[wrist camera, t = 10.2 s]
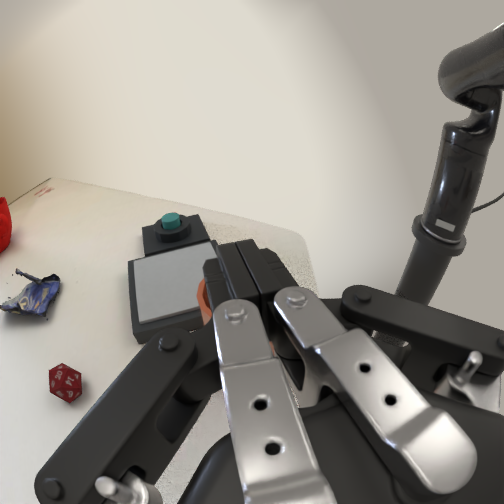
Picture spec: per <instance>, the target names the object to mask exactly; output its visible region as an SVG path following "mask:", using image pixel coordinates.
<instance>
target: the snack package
mask: <svg viewBox="0 0 504 504" xmlns="http://www.w3.org/2000/svg"><path fill="white" fill-rule="evenodd" d="M16 274H20V275H21V276H22V275H23V276H24V277H26V278H27V279H29V280H31V281H32V283H30V284H28V285H27V286H26V287H25V288H24V289H23V290H22V292H21V293H20V294H19V295H18V296H17V297H15V298H14V299H12V300H9V301H7V302H5V303H3V305H2V306H1V305H0V309H2V310H3V311H8V312H10V313H11V312H12V313H17V314H21V315H27V314H36V315H41V316H44V317H46V313H47V309H48V305H49V302H50V300H54V301H55V297H56V295H57V293H59V292H58V291H59V285H60V278H59V277H58V276H57V275H56V274H52V275H51V276H48V277H44V278H43V279H39V278H35V277H33V276H32V275H29V274H27V273H23V272H21V271H20V270H19V269H16ZM12 276H13V274H12ZM7 284H8V283H7ZM8 298H10V297H8ZM53 303H54V302H53ZM47 320H48V318H47Z"/></svg>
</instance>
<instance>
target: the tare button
mask: <svg viewBox="0 0 504 504" xmlns="http://www.w3.org/2000/svg"><path fill="white" fill-rule="evenodd" d="M161 220H162V224H163V228H164V229H166V230H172V229H176V228H177V227H179V226H180V224H181V223H180V218H179V214H177V213H168V214H165V215H164V216H163V217H162V219H161Z"/></svg>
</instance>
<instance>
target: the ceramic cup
mask: <svg viewBox="0 0 504 504" xmlns="http://www.w3.org/2000/svg"><path fill="white" fill-rule="evenodd" d="M11 231H12V222H11V216H10V212H9V208H8V205H7V202H6V199H5V197H1V198H0V253H1V252H2V251H3V250H4V249H6V247H7V246H8V245H9V243H10V238H11Z"/></svg>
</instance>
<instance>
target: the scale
mask: <svg viewBox="0 0 504 504" xmlns="http://www.w3.org/2000/svg"><path fill="white" fill-rule="evenodd" d="M216 245H218V244H217V242H216V240H211V241H207V242H203V243H199V244H195V245H191V246H187V247H183V248H179V249H175V250H171V251H167V252H163V253H159V254H155V255H151V256H147V257H143V258H139V259H135V260H131V261H128V279H129V296H130V308H131V319H132V329H133V334H134V336H135V338H136V340H137V342H138V343H139V344H141V343H146V342H148V341H149V340H150V339H151V338H152V337H153V336H154V335H155V334H156V333H157V332H159V331H161V330H163V329H166V328H171V327H178V328H183V329H185V330H187V331H192V330H195V329H199V328H202V327H203V323H202V319H201V315H200V310H199V306H198V302H197V296H196V295H197V290H198V286H199V283H200V282H201V281H202V279H203V278H204V274H203V269H202V267H203V265H204V263H205V260H206V259H212V258H217V252H216Z"/></svg>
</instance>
